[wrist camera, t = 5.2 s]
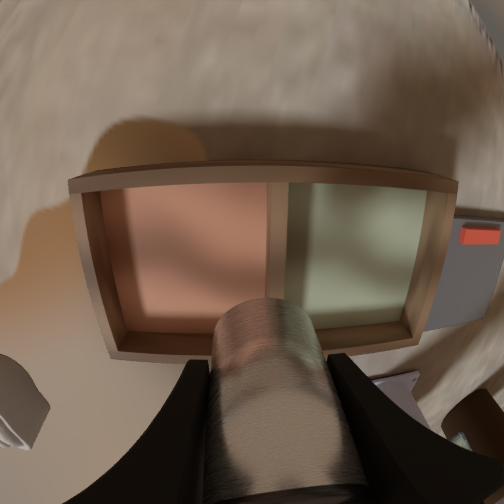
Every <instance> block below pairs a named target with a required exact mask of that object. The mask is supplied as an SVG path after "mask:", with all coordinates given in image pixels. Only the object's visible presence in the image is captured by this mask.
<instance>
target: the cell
mask: <svg viewBox="0 0 504 504" xmlns="http://www.w3.org/2000/svg"><path fill="white" fill-rule="evenodd" d="M202 504H374V503H373V499H372V496H371V493H370V490H369V486H368V483H367V480H366V477H365V474H364V470H363V467H362V464H361V461H360V458H359V455H358V452H357V449H356V446H355V443H354V440H353V437H352V434H351V431H350V428H349V425H348V422H347V419H346V416H345V413H344V410H343V407H342V404H341V401H340V399H339V396H338V393H337V390H336V387H335V384H334V382H333V379H332V376H331V373H330V370H329V368H328V365H327V362H326V359H325V357H324V354H323V351H322V348H321V346H320V343H319V340H318V338H317V335H316V332H315V329H314V327H313V324H312V322H311V320H310V318H309V316H308V315H307V313H306V312H305V311H304V310H303V309H301V308H300V307H299V306H297V305H296V304H294V303H292V302H289V301H287V300H283V299H279V298H256V299H251V300H248V301H244V302H242V303H240V304H238V305H236V306H234V307H232V308H231V309H230V310H228V311H227V312H226V313H225V314H224V315H223V316H222V317H221V318H220V320H219V321H218V323H217V325H216V327H215V330H214V334H213V343H212V355H211V367H210V379H209V392H208V406H207V421H206V437H205V455H204V475H203V499H202Z"/></svg>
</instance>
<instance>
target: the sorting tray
mask: <svg viewBox="0 0 504 504" xmlns="http://www.w3.org/2000/svg"><path fill="white" fill-rule="evenodd" d="M458 183H459V181H456V180H453V179H449V178H446V177H443V176H440V175H436V174H433V173H429V172H424V171H417V170H409V169H401V168H393V167H384V166H374V165H363V164H350V163H336V162H318V161H292V160H223V161H198V162H179V163H164V164H152V165H141V166H131V167H121V168H113V169H105V170H97V171H93V172H90V173H87V174H84V175H81V176H78V177H75V178H72V179H69V180H68V187H69V195H70V203H71V210H72V216H73V222H74V228H75V233H76V239H77V244H78V249H79V253H80V258H81V262H82V266H83V271H84V275H85V279H86V283H87V287H88V290H89V294H90V298H91V301H92V305H93V308H94V311H95V315H96V318H97V321H98V324H99V327H100V330H101V333H102V336H103V339H104V342H105V345H106V347H107V350H108V353H109V355H110V358H111V359H117V360H127V361H139V362H152V363H171V364H186V363H187V361H188V360H190V359H199V360H208V364H209V365H211V355H212V343H213V334H214V330H215V327H216V325H217V323H218V321H219V320H220V318H221V317H222V316H223V315H224V314H225V313H226V312H227V311H228V310H230V309H231V308H232V307H234V306H236V305H238V304H240V303H242V302H244V301H248V300H251V299H256V298H279V299H283V300H287V301H289V302H292V303H294V304H296V305H297V306H299V307H300V308H301V309H303V310H304V311H305V312H306V313H307V315H308V316H309V318H310V320H311V322H312V324H313V327H314V329H315V332H316V335H317V338H318V340H319V343H320V346H321V348H322V351H323V354H324V357H325V359H327V357H328V354H337V353H345V354H346V355H347V356H355V355H362V354H369V353H375V352H381V351H387V350H393V349H399V348H404V347H409V346H414V345H418V343H419V341H420V338H421V335H422V333H423V330H424V327H425V324H426V322H427V319H428V316H429V313H430V310H431V307H432V304H433V301H434V297H435V294H436V291H437V287H438V284H439V280H440V277H441V273H442V269H443V265H444V261H445V257H446V253H447V248H448V244H449V239H450V234H451V229H452V224H453V218H454V212H455V206H456V199H457V191H458Z"/></svg>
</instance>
